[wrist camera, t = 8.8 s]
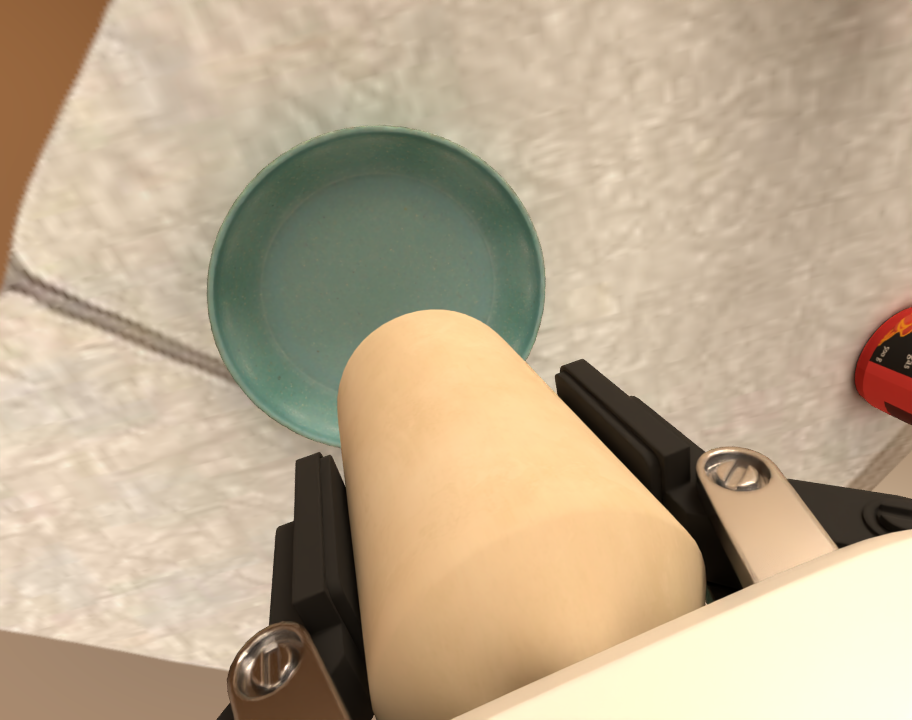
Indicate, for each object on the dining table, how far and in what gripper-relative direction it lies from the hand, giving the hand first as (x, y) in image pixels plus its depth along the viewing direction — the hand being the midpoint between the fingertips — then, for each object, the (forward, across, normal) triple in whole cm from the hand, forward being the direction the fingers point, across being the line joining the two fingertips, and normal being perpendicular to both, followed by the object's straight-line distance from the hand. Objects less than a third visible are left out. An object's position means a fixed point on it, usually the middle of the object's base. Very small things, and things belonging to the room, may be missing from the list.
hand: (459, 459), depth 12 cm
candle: (+4, 0, 0) cm, 4 cm away
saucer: (+14, 0, 0) cm, 14 cm away
